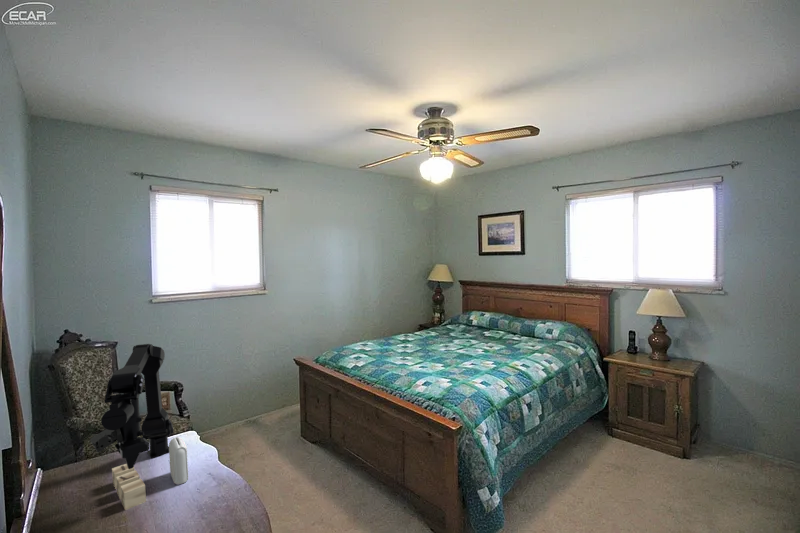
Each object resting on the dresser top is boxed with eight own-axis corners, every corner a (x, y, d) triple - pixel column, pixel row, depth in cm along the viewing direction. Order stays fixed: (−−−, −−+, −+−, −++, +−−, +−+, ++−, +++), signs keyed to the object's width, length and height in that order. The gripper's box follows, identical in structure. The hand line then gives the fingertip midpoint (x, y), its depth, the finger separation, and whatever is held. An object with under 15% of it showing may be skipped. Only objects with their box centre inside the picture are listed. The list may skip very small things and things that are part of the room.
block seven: (117, 493, 115) (116, 476, 115) (136, 485, 118) (135, 469, 118) (120, 500, 111) (119, 483, 111) (140, 492, 115) (139, 475, 115)
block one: (112, 484, 120) (111, 468, 119) (131, 477, 123) (130, 461, 123) (115, 490, 116) (114, 474, 116) (135, 483, 120) (134, 467, 120)
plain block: (121, 503, 110) (120, 486, 110) (141, 494, 113) (141, 478, 113) (125, 510, 106) (124, 493, 106) (146, 502, 110) (145, 485, 110)
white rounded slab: (169, 473, 125) (167, 436, 124) (183, 468, 127) (182, 432, 127) (174, 487, 117) (172, 447, 116) (189, 481, 119) (188, 443, 119)
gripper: (87, 415, 110) (90, 468, 110) (97, 435, 97) (101, 494, 98) (133, 404, 118) (135, 453, 119) (148, 420, 105) (151, 475, 106)
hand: (130, 468), depth 110 cm, fingers closed
